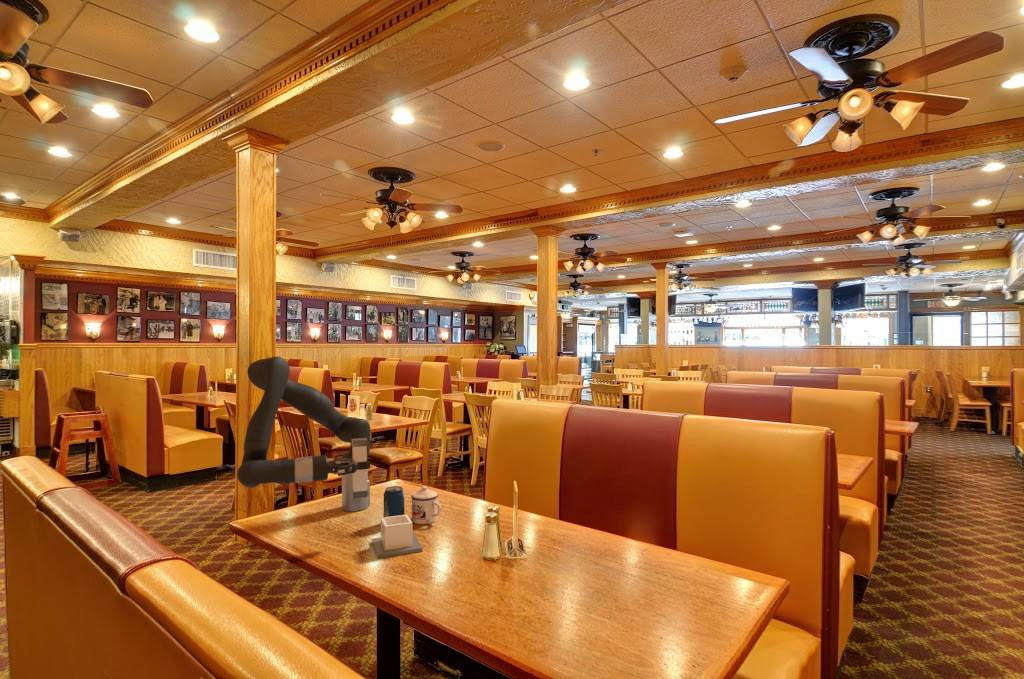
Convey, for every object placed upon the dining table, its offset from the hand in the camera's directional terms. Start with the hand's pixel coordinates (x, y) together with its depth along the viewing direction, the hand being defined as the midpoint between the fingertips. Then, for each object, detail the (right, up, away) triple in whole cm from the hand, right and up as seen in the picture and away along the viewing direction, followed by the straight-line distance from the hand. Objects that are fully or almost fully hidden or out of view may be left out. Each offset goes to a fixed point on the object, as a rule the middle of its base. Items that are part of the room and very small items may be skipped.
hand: (368, 463), depth 172 cm
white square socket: (+10, -24, -7) cm, 27 cm away
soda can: (+5, -24, +13) cm, 28 cm away
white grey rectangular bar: (-3, -10, -1) cm, 10 cm away
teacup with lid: (+16, -24, +16) cm, 33 cm away
